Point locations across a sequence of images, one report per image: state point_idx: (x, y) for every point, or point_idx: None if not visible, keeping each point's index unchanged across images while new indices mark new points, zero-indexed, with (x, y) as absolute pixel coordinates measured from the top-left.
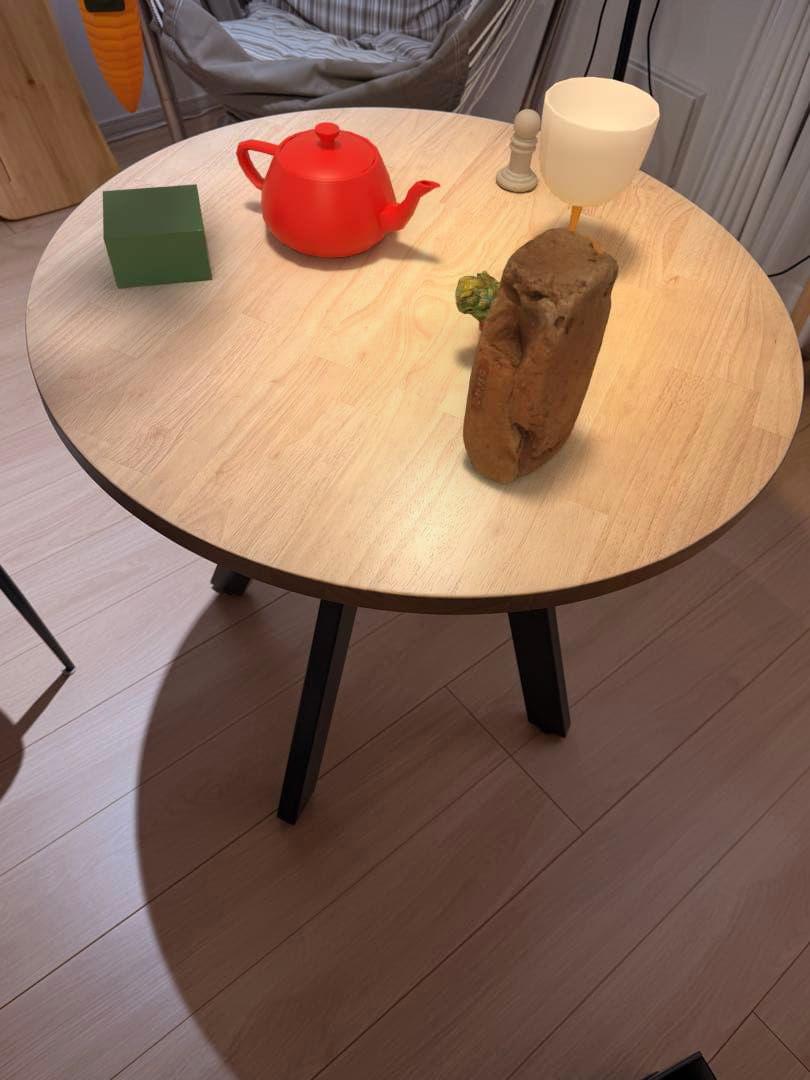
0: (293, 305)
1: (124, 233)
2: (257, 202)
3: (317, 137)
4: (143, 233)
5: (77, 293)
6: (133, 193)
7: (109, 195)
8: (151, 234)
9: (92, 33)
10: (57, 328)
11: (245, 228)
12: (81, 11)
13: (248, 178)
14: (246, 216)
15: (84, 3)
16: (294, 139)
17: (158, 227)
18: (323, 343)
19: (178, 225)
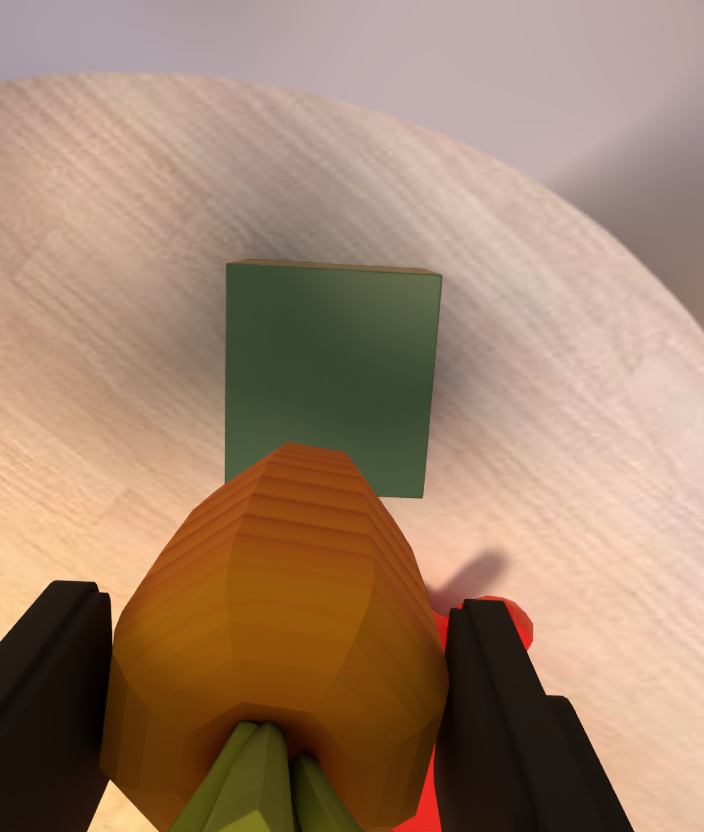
0: (138, 579)
1: (238, 314)
2: (501, 574)
3: (411, 819)
4: (229, 358)
5: (245, 171)
6: (413, 350)
7: (416, 291)
8: (225, 375)
9: (217, 508)
10: (128, 121)
11: (410, 537)
12: (233, 517)
13: (479, 598)
14: (454, 545)
15: (39, 596)
16: (429, 768)
17: (250, 394)
18: (21, 607)
19: (250, 438)
